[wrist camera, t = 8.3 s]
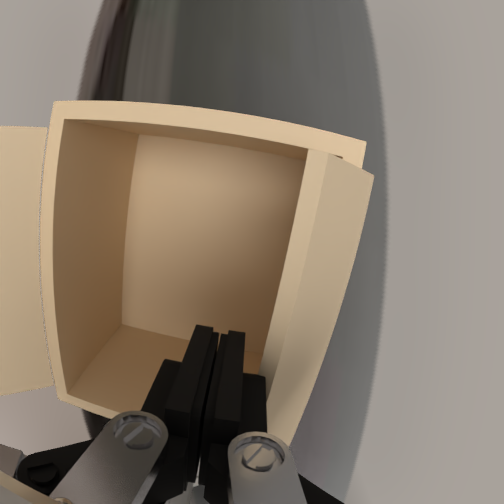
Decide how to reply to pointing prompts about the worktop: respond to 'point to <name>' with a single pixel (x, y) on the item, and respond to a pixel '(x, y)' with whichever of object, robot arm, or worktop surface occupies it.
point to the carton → (162, 237)
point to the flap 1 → (21, 262)
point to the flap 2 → (312, 284)
